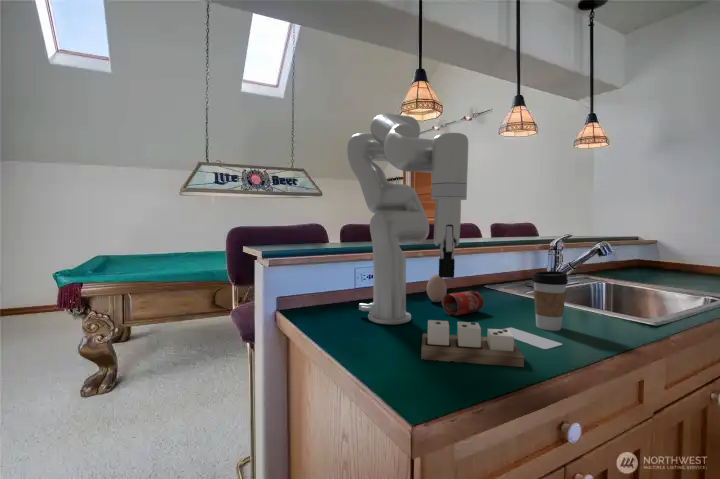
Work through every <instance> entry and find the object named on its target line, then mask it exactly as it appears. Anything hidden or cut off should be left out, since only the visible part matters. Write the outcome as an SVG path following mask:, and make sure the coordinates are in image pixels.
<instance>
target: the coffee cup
mask: <svg viewBox="0 0 720 479" xmlns="http://www.w3.org/2000/svg"><path fill="white" fill-rule="evenodd" d="M532 282H533V288H532V289H533V298H534V299H533V300H534V301H533V302H534V312H535V325H536V327H537V328H538V329H541V330H546V331H550V332H551V331H554V332H555V331H560V330H562V322H563V314H564V308H565V301H566V295H567V294H566V293H567V291H566V287H567V285H568V284H569V283H568V282H569V280H568V273H567V272H566V271H559V270H557V271H556V270H555V271H554V270H553V271H552V270H551V271H550V270H549V271H536V272H533V276H532Z"/></svg>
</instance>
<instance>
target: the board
mask: <svg viewBox="0 0 720 479" xmlns="http://www.w3.org/2000/svg"><path fill="white" fill-rule="evenodd" d="M421 339H422V340H421V350H420V351H421V352H420V357H421V360H423V359H424V360H426V361H437V360H438V361H439V362H450V361H454V362H453V363H463V362H465V363H466V362H467V363H466V364H480V365H492V366H504V367H505V366H506V367H516V368H517V367H518V368H519V367H521V368H524V367H525V365H524V364H525V363H524V362H525V356H524V355H523V353H522V352H521V351H520V349H519V348H518V346H517V345H516V343H515V342H514V349H513V351H501V350H489V349H488V346H487V336H481V348H480V347H465V346H458V341H457V334H449V345H435V344H428V332H425V333H424V332H422V336H421Z"/></svg>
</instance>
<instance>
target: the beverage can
mask: <svg viewBox="0 0 720 479" xmlns="http://www.w3.org/2000/svg"><path fill="white" fill-rule="evenodd" d="M441 305H442V308H443V312H444V313H446V314H447V315H448V316H451V315H453V317H455V316H456V317H457V316H461V315H465V314H472V313H476V312H479V311H480V310H481V309H482V308H483V306H484V298H483V296H482V295H481V294H480V292H478V291H474V290H468V291H461V292H452V293H446V295H445V296H444V298H443V299H442V301H441Z"/></svg>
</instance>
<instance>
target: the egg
mask: <svg viewBox="0 0 720 479" xmlns="http://www.w3.org/2000/svg"><path fill="white" fill-rule="evenodd" d="M447 289H448V288H447V284H446V281H445V279H444V278H441V277H439V274H434V275H432V276H431V277H430V278H429V279H428V282H427V284H426V294H427V296H428V298H429V300H431V301H432V302H433V303H440V302H442V299H443V298H444V296H445V295H446V294H447Z"/></svg>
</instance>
